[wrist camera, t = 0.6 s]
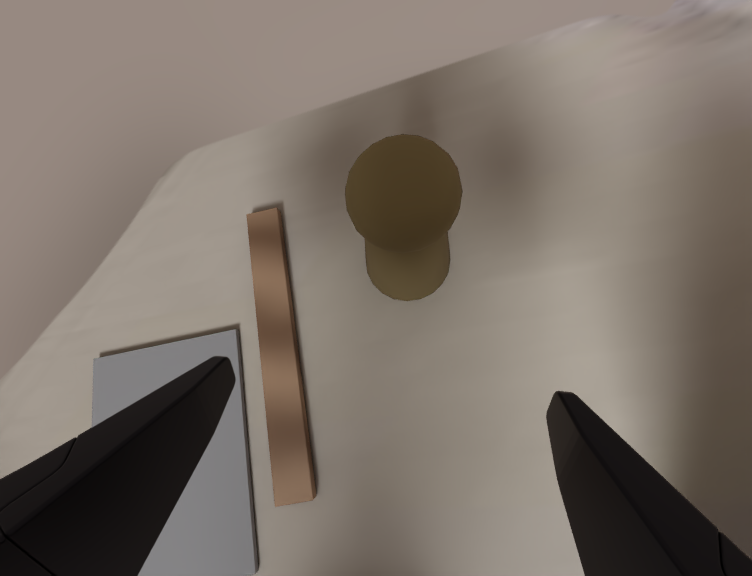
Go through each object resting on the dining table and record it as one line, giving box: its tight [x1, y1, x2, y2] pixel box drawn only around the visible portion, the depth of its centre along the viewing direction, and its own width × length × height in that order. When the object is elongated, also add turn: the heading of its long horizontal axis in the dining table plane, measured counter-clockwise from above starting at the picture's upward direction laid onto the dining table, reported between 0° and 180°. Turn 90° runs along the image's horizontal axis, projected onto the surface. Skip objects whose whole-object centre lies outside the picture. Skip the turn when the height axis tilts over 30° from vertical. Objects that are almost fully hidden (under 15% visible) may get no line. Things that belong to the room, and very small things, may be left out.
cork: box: [345, 134, 462, 301], centre depth 19 cm, size 6×6×11 cm
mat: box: [92, 329, 258, 576], centre depth 23 cm, size 15×11×1 cm
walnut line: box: [247, 208, 317, 507], centre depth 23 cm, size 20×2×1 cm, turn 11°
